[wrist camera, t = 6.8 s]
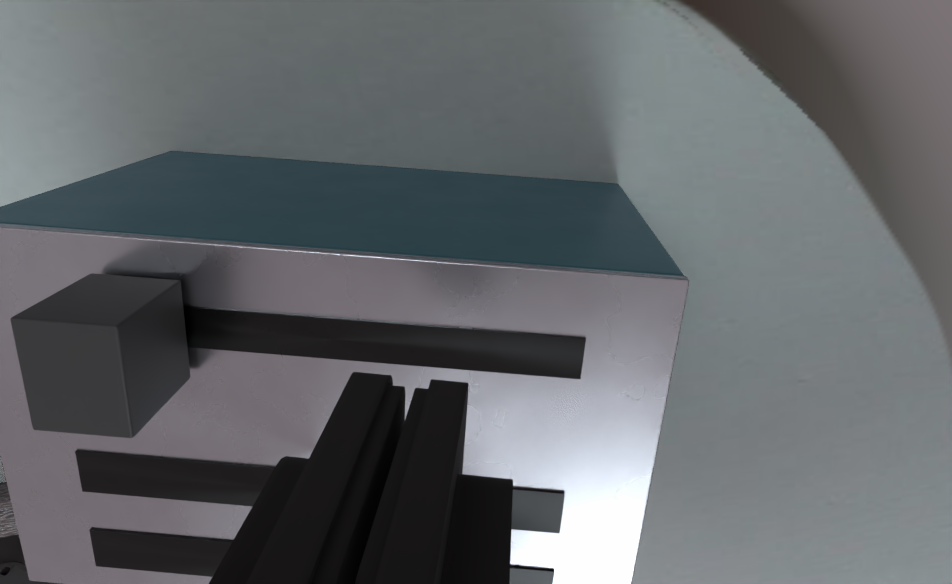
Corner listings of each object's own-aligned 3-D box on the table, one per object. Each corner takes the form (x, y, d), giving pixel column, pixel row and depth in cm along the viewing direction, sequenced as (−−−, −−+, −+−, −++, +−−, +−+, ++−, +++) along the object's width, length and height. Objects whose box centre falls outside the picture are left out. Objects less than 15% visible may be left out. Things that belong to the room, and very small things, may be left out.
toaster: (169, 150, 24) (-57, 223, 14) (619, 183, 23) (690, 281, 14) (194, 395, 27) (27, 582, 18) (584, 428, 27) (622, 637, 17)
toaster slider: (90, 272, 14) (8, 317, 12) (181, 279, 14) (116, 326, 12) (105, 370, 15) (31, 430, 13) (191, 378, 15) (133, 439, 13)
